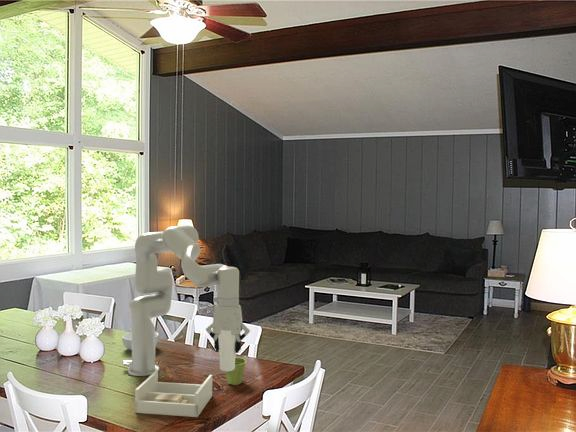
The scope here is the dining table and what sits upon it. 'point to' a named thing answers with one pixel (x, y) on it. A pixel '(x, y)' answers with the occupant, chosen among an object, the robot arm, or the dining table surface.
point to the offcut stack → (170, 398)
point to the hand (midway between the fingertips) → (227, 351)
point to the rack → (190, 392)
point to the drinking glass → (227, 350)
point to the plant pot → (236, 372)
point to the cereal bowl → (128, 340)
